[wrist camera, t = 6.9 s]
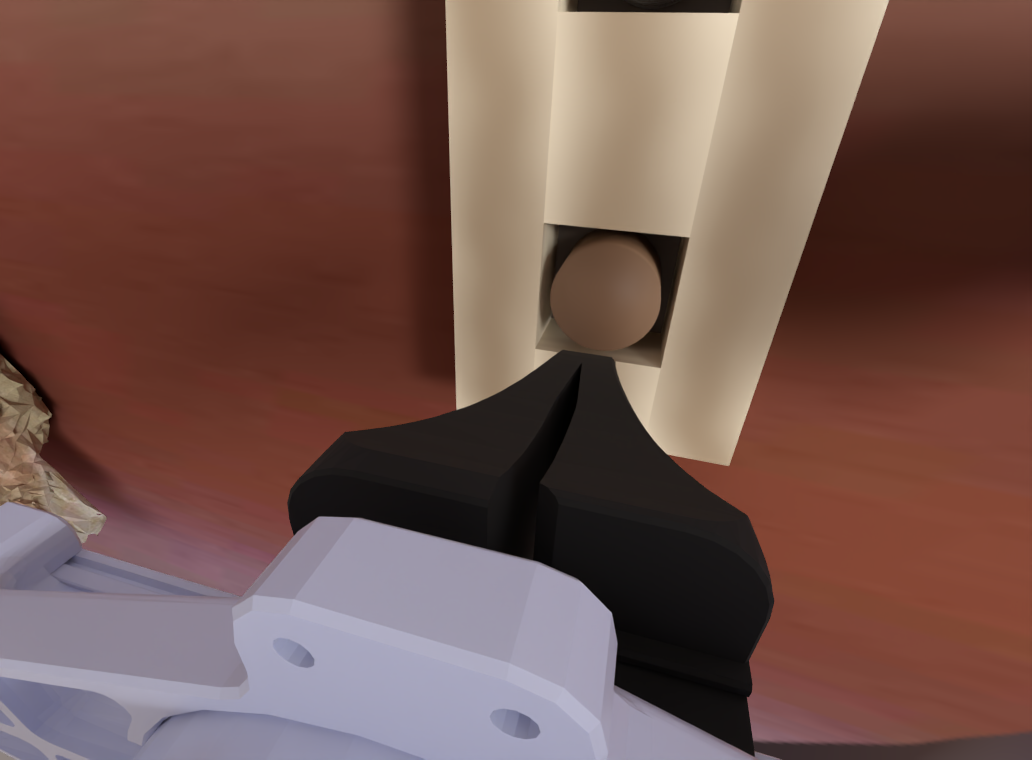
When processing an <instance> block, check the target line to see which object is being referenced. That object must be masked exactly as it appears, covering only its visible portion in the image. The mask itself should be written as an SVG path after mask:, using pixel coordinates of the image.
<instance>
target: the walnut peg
mask: <svg viewBox="0 0 1032 760" xmlns="http://www.w3.org/2000/svg"><path fill="white" fill-rule="evenodd" d="M550 303H551V309H552V313H553V316H554V318H555V321H556V322H557V324H558V326H559V327H560V329H561V330H562V331H563V332H564V333H565V334H566V335H567V336H568V337H569V338H570V339H571V340H573V341H574V342H576V343H577V344H579V345H582V346H584V347H586V348H589V349H594V350H600V351H612V350H618V349H622V348H625V347H628V346H630V345H632V344H634V343H636V342H637V341H639V340H640V339H641V338H643V337H644V336H645V335H646V334H647V333H648V332H649V330H650V329H651V328H652V326H653V325H654V323H655V321H656V319H657V317H658V314H659V310H660V305H661V264H660V259H659V256H658V254H657V251H656V249H655V248H654V246H653V245H652V243H651V242H650V241H649V240H648V239H647V238H646V237H645V236H643V235H642V234H640V233H639V232H630V231H619V230H609V229H599V228H598V229H596V230H593V231H591V232H590V233H588V234H586V235H585V236H584V237H582V238H581V239H580V240H579V241H578V242H577V243H576V245H575V246H574V247H573V249H572V251H571V252H570V254H569V255H568V257H567V258H566V260H565V262H564V263H563V265H562V266H561V268H560V270H559V271H558V273H557V274H556V276H555V279H554V281H553V284H552V287H551V294H550Z"/></svg>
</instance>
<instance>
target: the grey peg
mask: <svg viewBox="0 0 1032 760" xmlns="http://www.w3.org/2000/svg"><path fill="white" fill-rule="evenodd" d="M624 1H625V2H627V3H629V4H631V5H633V6H635V7H639V8H644V9H659V8H663V7H667V6H670V5H673V4H675V3H677V2H679V1H681V0H624Z"/></svg>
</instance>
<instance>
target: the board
mask: <svg viewBox="0 0 1032 760" xmlns="http://www.w3.org/2000/svg"><path fill="white" fill-rule="evenodd" d="M888 2H889V0H681V1H679V2H677V3H675V4H673V5H670V6H667V7H663V8H659V9H644V8H639V7H635V6H633V5H631V4H629V3H627V2H625V1H624V0H445V4H446V41H447V78H448V114H449V151H450V187H451V224H452V261H453V297H454V334H455V371H456V407H457V410H458V409H461V408H464V407H467V406H470V405H472V404H475V403H477V402H479V401H481V400H484V399H486V398H488V397H490V396H492V395H494V394H496V393H498V392H500V391H502V390H504V389H506V388H507V387H509V386H511V385H512V384H514V383H516V382H517V381H519V380H521V379H522V378H524V377H525V376H527V375H528V374H530V373H531V372H532V371H534V370H535V369H537V368H538V367H539V366H541V365H542V364H543V363H545V362H546V361H547V360H549V359H550V358H551V357H553V356H554V355H555V354H557V353H558V352H560V351H561V350H568V351H575V352H581V353H588V354H595V355H601V356H608V357H612V358H613V359H614V361H615V362H616V370H617V374H618V377H619V380H620V383H621V385H622V388H623V390H624V392H625V394H626V396H627V398H628V401H629V403H630V404H631V406H632V408H633V410H634V412H635V413H636V415H637V417H638V418H639V420H640V422H641V423H642V425H643V426H644V428H645V429H646V431H647V432H648V433H649V435H650V436H651V437H652V438H653V440H654V441H655V442H656V443H657V444H658V446H659V447H660V448H661V449H662V450H663V451H664V452H665V453H666V454H668V455H673V456H679V457H684V458H689V459H694V460H700V461H705V462H710V463H716V464H721V465H726V466H729V464H730V461H731V458H732V456H733V453H734V450H735V447H736V444H737V441H738V438H739V435H740V432H741V429H742V426H743V424H744V421H745V418H746V415H747V412H748V409H749V406H750V403H751V400H752V397H753V394H754V392H755V389H756V386H757V383H758V380H759V377H760V374H761V371H762V368H763V365H764V362H765V360H766V357H767V354H768V351H769V348H770V345H771V342H772V339H773V336H774V333H775V330H776V328H777V325H778V322H779V319H780V316H781V313H782V310H783V307H784V304H785V301H786V298H787V296H788V293H789V290H790V287H791V284H792V281H793V278H794V275H795V272H796V269H797V266H798V264H799V261H800V258H801V255H802V252H803V249H804V246H805V243H806V240H807V237H808V235H809V232H810V229H811V226H812V223H813V220H814V217H815V214H816V211H817V208H818V205H819V203H820V200H821V197H822V194H823V191H824V188H825V185H826V182H827V179H828V176H829V173H830V171H831V168H832V165H833V162H834V159H835V156H836V153H837V150H838V147H839V144H840V141H841V139H842V136H843V133H844V130H845V127H846V124H847V121H848V118H849V115H850V112H851V109H852V107H853V104H854V101H855V98H856V95H857V92H858V89H859V86H860V83H861V80H862V77H863V75H864V72H865V69H866V66H867V63H868V60H869V57H870V54H871V51H872V48H873V45H874V43H875V40H876V37H877V34H878V31H879V28H880V25H881V22H882V19H883V16H884V13H885V11H886V8H887V5H888ZM598 228H599V229H609V230H619V231H630V232H639V233H640V234H642V235H643V236H645V237H646V238H647V239H648V240H649V241H650V242H651V243H652V245H653V246H654V248H655V249H656V251H657V254H658V256H659V259H660V264H661V305H660V310H659V314H658V317H657V319H656V321H655V323H654V325H653V326H652V328H651V329H650V330H649V332H648V333H647V334H646V335H645V336H644V337H643V338H641V339H640V340H639V341H637V342H636V343H634V344H632V345H630V346H628V347H625V348H622V349H618V350H612V351H600V350H594V349H589V348H586V347H584V346H582V345H579V344H577V343H576V342H574V341H573V340H571V339H570V338H569V337H568V336H567V335H566V334H565V333H564V332H563V331H562V330H561V329H560V327H559V326H558V324H557V322H556V321H555V318H554V316H553V313H552V309H551V303H550V294H551V287H552V284H553V281H554V279H555V276H556V274H557V273H558V271H559V270H560V268H561V266H562V265H563V263H564V262H565V260H566V258H567V257H568V255H569V254H570V252H571V251H572V249H573V247H574V246H575V245H576V243H577V242H578V241H579V240H580V239H581V238H582V237H584V236H585V235H586V234H588V233H590V232H591V231H593V230H596V229H598Z"/></svg>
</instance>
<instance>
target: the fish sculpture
mask: <svg viewBox="0 0 1032 760" xmlns="http://www.w3.org/2000/svg"><path fill="white" fill-rule="evenodd" d="M41 399H42V397H39V396H38V395H37V394H36V392H35V388H34V387H33V386H32V385H31V384H30V383H29V382H28V381H27V380H26V379H25V378H24V377H23V376H22V374H21V373H20V372H18V371H17V370H16V369H15V368H14V367H13V366H12V365H11V364H10V363H9V362H8V361H7V360H6V359H5V358H4V357H3V356H2V355H1V354H0V506H1V505H3V504H5V503H6V502H15V503H19V504H22V505H26V506H29V507H33V508H36V509H40V510H43V511H47V512H50V513H53V514H56V515H58V516H60V517H61V518H63V519H64V520H65V521H67V522H68V523H69V524H70V525H71V526H72V528H73V529H74V530H75V532H76V533H77V535H78V537H79V539H80V541H81V543H84V542H86V539H87V537H88V535H89V534H94V533H96V535H98V533H99V532H100V531H101V529H102V527H103V525H104V523H105V521H106V519H107V517H105V516H104V515H103V514H102V513H101V512H100V511H99V510H98V509H97V508H95V507H94V506H93V505H92V504H91V503H90V502H89V501H88V500H87V499H85V498H84V497H83V496H82V495H81V494H80V493H79V492H78V491H77V490H75V489H74V488H73V487H72V486H71V485H70V484H69V483H68V482H67V481H66V480H65V479H64V478H63V477H62V476H61V475H60V474H59V473H58V472H57V471H56V470H55V469H54V468H53V467H52V466H51V465H49V464H48V463H47V462H45V461H44V460H43V459H42V458H41V457H40V455H39V454H40V452H41V449H42V446H43V444H44V443H47V442H49V441H48V440H47V438H48V434H49V427H50V425H49V418H50V417H51V416H52V414H51V412H50V411H49V410H48V408H47V407H46V405H45V404H44V403H43V401H42V400H41ZM52 489H53V490H54V492H55V493H54V492H53V490H52ZM96 513H98V514H101V515H97V514H96Z"/></svg>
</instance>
